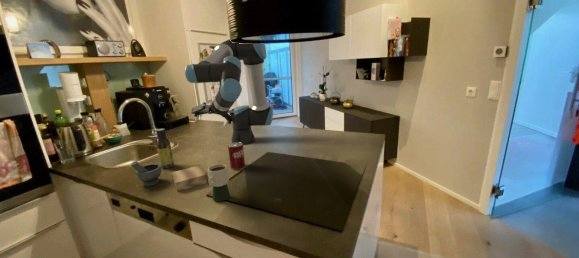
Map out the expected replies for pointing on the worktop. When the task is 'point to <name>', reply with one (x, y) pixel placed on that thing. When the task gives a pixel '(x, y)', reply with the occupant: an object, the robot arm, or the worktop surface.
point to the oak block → (189, 178)
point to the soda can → (236, 155)
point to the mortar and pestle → (147, 173)
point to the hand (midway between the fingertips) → (210, 121)
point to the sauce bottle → (164, 150)
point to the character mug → (219, 181)
